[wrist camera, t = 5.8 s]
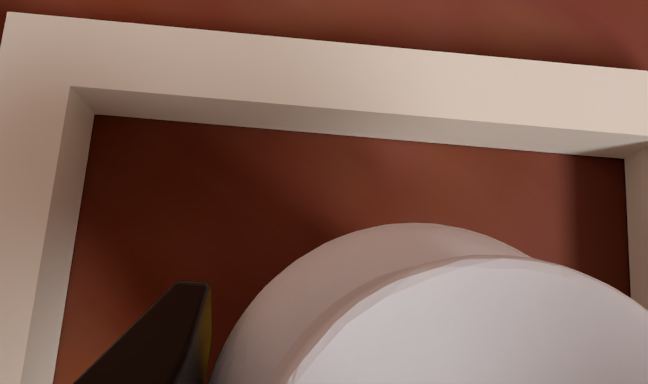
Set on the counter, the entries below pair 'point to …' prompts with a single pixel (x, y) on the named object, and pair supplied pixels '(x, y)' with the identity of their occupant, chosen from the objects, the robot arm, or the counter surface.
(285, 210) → the counter surface
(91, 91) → the white u-shaped bracket
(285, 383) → the supplement bottle
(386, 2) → the counter surface
